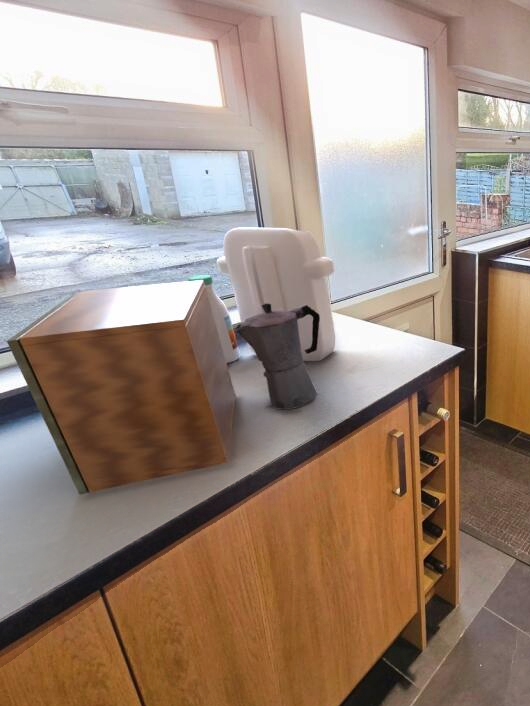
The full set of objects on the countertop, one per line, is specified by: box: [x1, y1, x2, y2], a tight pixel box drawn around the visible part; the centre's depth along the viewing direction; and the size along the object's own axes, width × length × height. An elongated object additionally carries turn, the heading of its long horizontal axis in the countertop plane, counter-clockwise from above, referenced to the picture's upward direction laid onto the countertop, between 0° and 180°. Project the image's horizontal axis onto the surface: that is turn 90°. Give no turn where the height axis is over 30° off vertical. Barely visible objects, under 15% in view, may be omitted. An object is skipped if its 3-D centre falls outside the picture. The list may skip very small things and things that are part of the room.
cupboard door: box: [6, 291, 89, 495], centre depth 77 cm, size 7×26×24 cm, turn 24°
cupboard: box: [19, 280, 237, 493], centre depth 81 cm, size 18×26×24 cm
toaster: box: [216, 226, 336, 362], centre depth 115 cm, size 27×11×30 cm, turn 77°
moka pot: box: [233, 303, 320, 410], centre depth 95 cm, size 10×15×20 cm, turn 137°
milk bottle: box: [187, 274, 241, 364], centre depth 115 cm, size 8×8×20 cm
